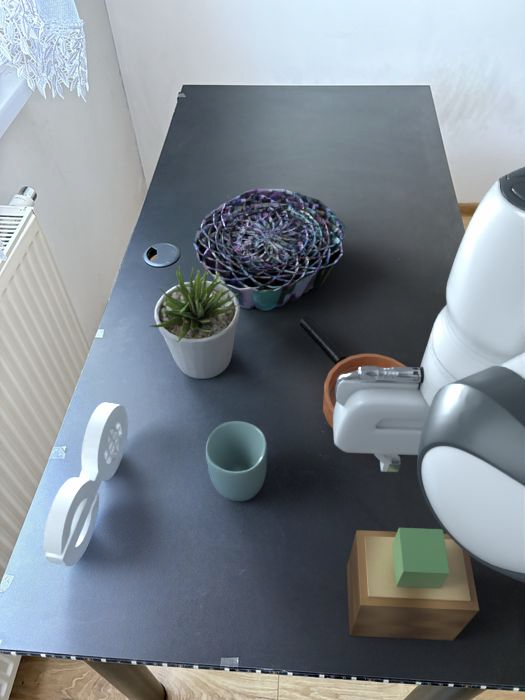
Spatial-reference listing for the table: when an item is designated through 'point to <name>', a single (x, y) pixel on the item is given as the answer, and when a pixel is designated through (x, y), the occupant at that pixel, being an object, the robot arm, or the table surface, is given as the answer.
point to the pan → (346, 367)
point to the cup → (237, 460)
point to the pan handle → (322, 340)
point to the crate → (406, 593)
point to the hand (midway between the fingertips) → (441, 466)
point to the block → (420, 558)
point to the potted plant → (199, 325)
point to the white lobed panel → (86, 486)
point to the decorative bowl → (270, 246)
